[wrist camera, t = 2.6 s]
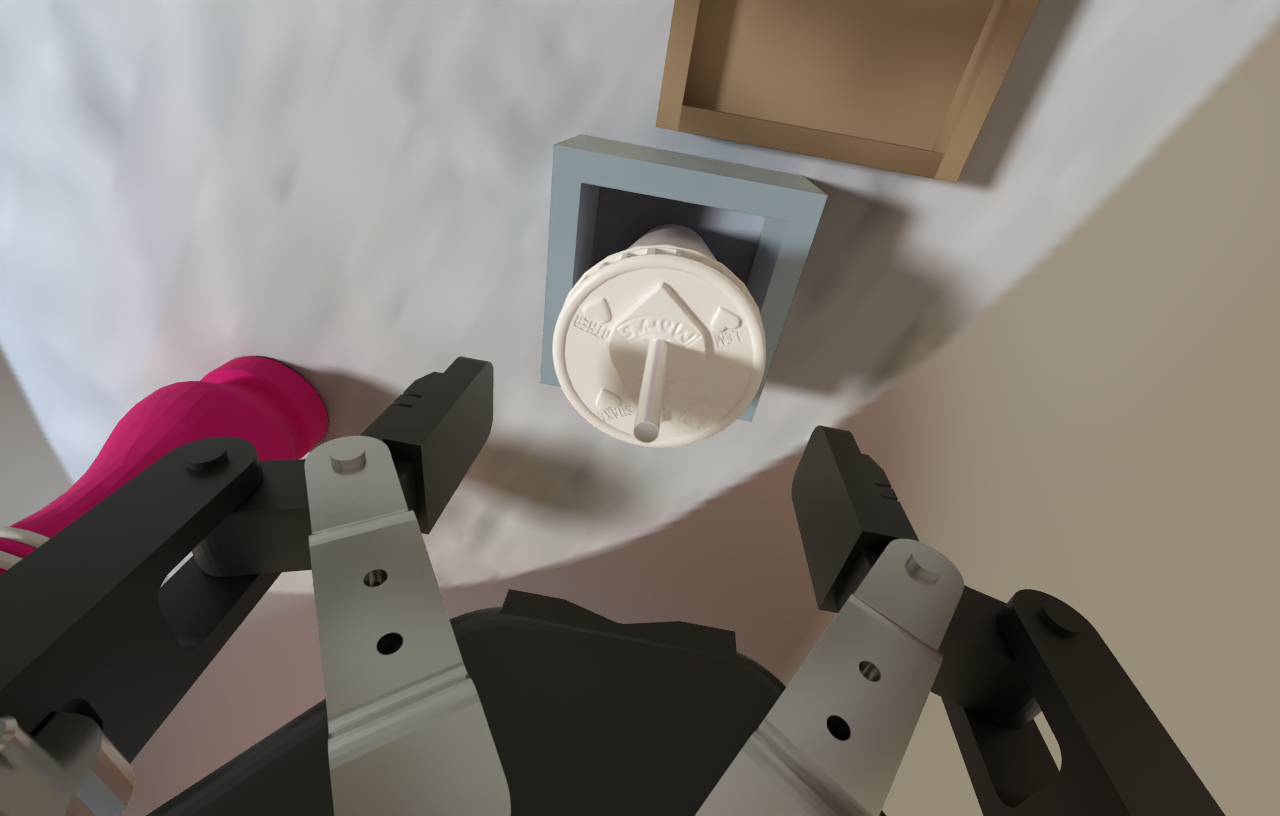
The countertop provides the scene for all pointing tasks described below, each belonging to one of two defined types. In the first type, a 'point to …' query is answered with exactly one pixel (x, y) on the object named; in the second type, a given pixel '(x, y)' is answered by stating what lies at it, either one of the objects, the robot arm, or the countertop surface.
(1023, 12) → the tray
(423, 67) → the countertop surface
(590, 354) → the smoothie
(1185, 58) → the countertop surface
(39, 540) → the pepper mill
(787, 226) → the holder
